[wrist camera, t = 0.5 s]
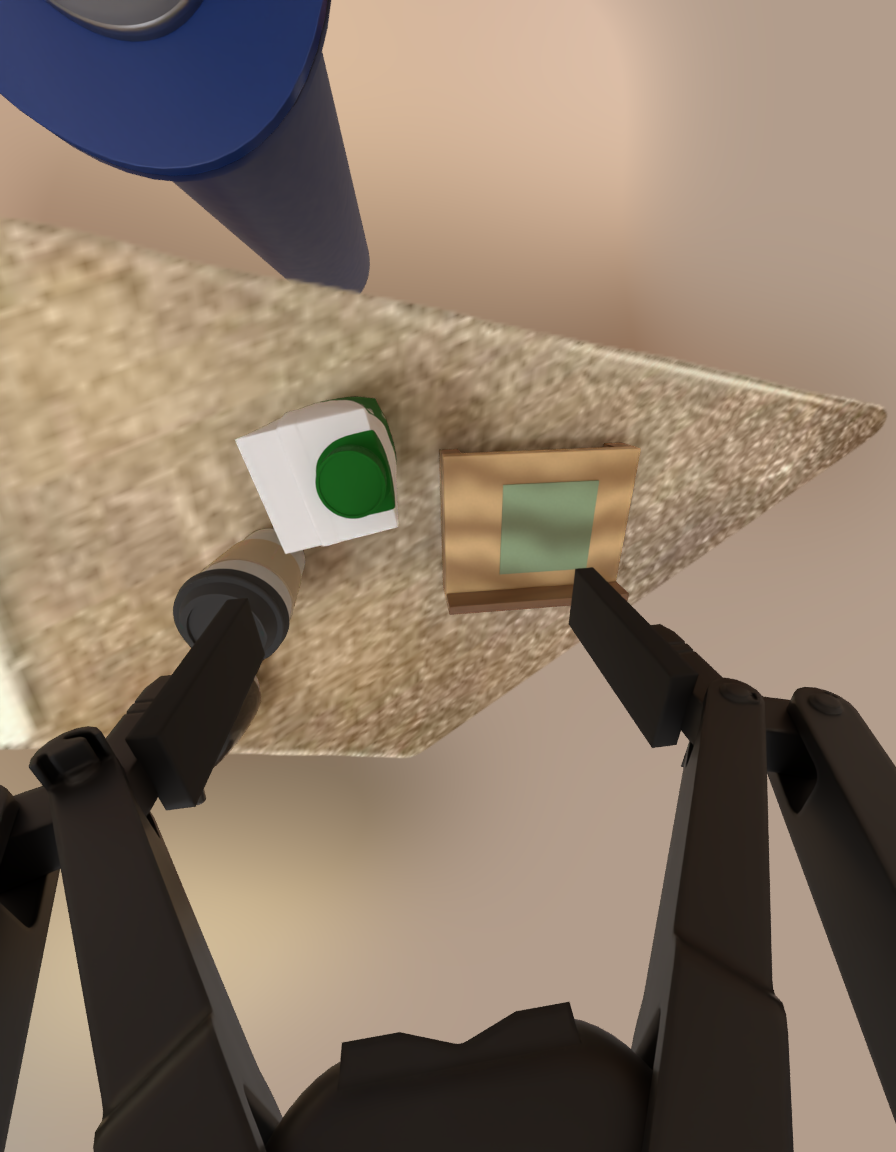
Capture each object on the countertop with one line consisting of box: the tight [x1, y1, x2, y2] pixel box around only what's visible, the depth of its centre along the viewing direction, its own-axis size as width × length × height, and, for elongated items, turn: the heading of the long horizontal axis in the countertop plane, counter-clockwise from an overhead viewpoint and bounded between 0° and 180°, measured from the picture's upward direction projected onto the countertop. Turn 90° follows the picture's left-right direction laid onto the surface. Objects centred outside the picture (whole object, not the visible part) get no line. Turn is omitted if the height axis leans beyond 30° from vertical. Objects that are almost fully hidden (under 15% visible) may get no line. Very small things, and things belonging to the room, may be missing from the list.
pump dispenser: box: [196, 676, 261, 805], centre depth 45 cm, size 10×10×15 cm
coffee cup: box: [173, 528, 305, 660], centre depth 39 cm, size 9×9×15 cm
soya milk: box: [235, 396, 399, 554], centre depth 32 cm, size 9×9×20 cm
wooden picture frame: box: [439, 443, 641, 615], centre depth 44 cm, size 16×20×7 cm
